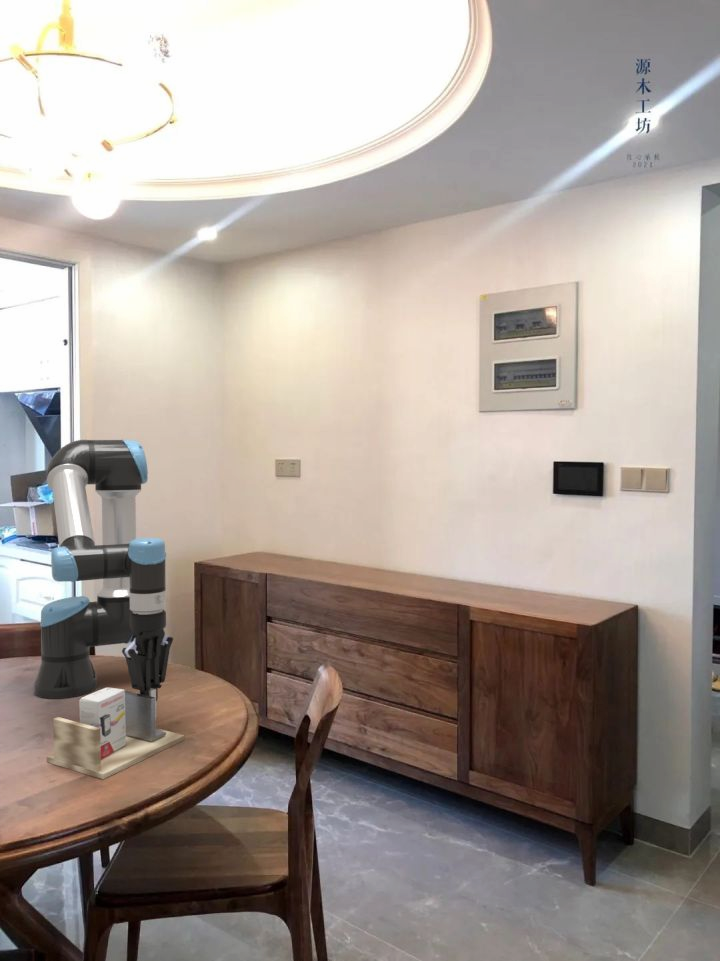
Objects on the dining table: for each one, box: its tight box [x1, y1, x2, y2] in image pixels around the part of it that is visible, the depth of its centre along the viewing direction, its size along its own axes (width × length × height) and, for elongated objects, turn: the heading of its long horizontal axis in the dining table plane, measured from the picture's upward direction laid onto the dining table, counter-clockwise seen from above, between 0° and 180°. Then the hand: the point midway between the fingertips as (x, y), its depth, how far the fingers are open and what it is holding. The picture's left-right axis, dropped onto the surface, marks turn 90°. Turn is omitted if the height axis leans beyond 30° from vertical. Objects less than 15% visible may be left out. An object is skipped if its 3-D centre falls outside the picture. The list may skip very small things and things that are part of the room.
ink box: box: [78, 687, 126, 759], centre depth 150 cm, size 9×5×12 cm, turn 160°
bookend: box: [125, 690, 166, 742], centre depth 159 cm, size 10×4×9 cm, turn 60°
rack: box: [46, 716, 185, 780], centre depth 153 cm, size 16×22×9 cm
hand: (149, 718), depth 161 cm, fingers closed
